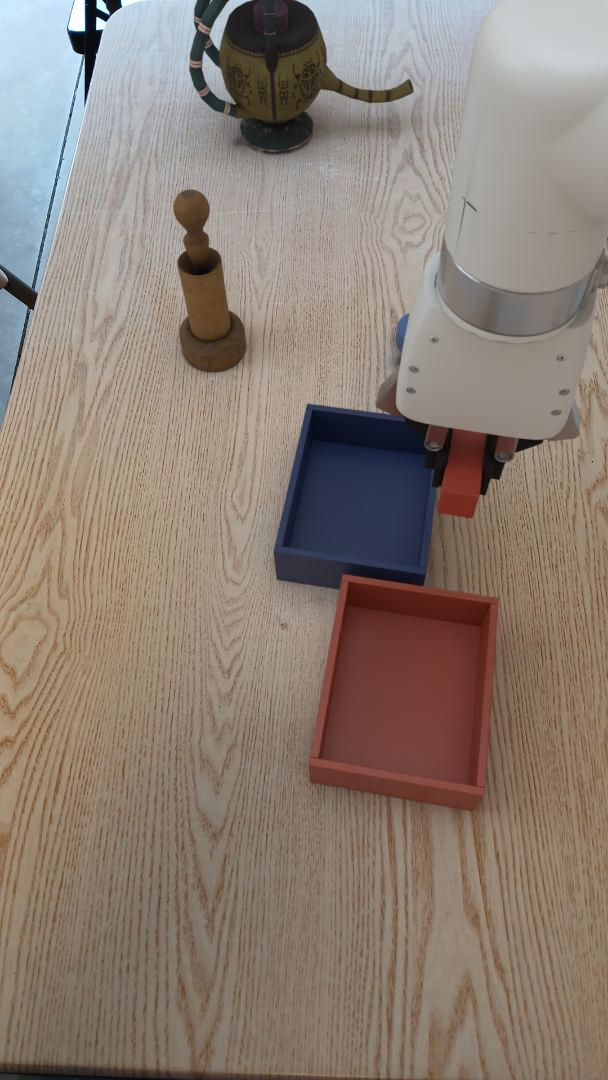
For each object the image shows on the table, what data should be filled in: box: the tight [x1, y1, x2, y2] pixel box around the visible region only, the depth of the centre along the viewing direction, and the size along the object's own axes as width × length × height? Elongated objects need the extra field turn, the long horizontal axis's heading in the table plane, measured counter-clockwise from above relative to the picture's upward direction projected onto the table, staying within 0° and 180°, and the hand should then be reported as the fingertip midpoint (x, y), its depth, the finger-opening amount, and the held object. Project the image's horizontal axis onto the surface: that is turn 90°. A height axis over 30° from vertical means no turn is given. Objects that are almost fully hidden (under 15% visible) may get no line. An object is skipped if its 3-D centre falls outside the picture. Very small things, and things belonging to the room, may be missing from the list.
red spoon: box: [436, 428, 487, 520], centre depth 57 cm, size 11×4×3 cm, turn 168°
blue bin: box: [273, 403, 438, 590], centre depth 71 cm, size 15×12×5 cm
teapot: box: [188, 0, 415, 156], centre depth 90 cm, size 12×25×23 cm, turn 91°
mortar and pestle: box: [172, 188, 247, 373], centre depth 76 cm, size 7×6×18 cm
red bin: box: [308, 574, 500, 812], centre depth 63 cm, size 15×12×5 cm
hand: (460, 473), depth 57 cm, fingers closed on red spoon, 2 cm apart
